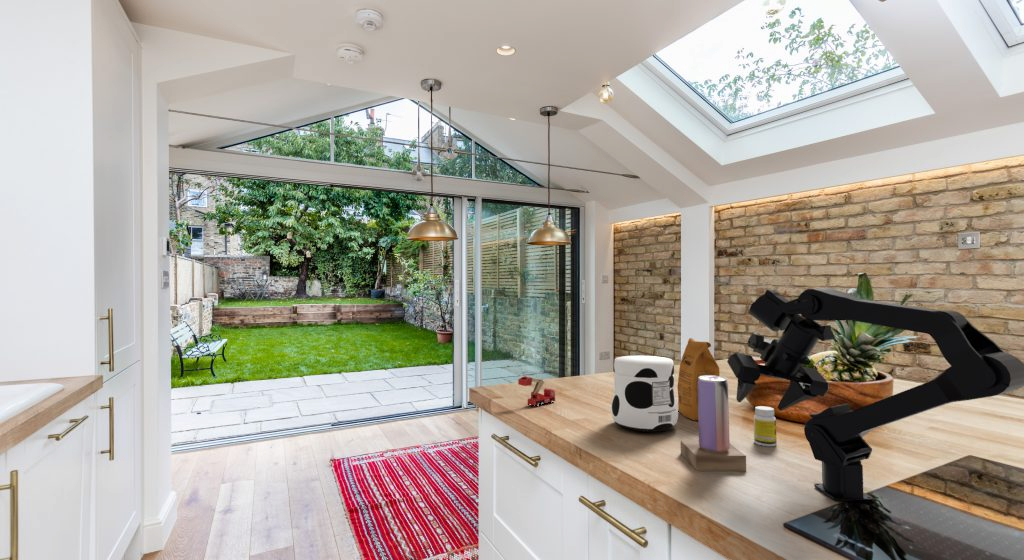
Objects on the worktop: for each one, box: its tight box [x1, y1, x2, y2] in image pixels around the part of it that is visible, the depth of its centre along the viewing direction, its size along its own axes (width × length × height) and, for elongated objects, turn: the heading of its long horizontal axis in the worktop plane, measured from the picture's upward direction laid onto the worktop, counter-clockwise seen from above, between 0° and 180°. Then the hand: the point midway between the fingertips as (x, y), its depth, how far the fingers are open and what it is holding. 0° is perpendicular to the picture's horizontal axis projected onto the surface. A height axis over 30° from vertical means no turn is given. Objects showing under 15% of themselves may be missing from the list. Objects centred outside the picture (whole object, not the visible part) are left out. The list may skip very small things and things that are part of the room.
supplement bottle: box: [753, 405, 777, 447], centre depth 114 cm, size 5×5×8 cm
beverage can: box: [697, 375, 731, 454], centre depth 101 cm, size 6×6×15 cm
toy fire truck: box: [517, 375, 556, 405], centre depth 154 cm, size 3×14×10 cm, turn 130°
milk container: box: [610, 355, 679, 433], centre depth 129 cm, size 17×17×18 cm
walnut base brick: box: [680, 439, 747, 472], centre depth 103 cm, size 10×10×3 cm
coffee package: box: [676, 337, 720, 421], centre depth 139 cm, size 10×12×22 cm
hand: (758, 404), depth 101 cm, fingers open, 9 cm apart
